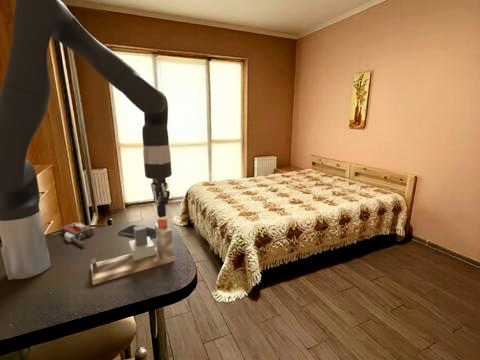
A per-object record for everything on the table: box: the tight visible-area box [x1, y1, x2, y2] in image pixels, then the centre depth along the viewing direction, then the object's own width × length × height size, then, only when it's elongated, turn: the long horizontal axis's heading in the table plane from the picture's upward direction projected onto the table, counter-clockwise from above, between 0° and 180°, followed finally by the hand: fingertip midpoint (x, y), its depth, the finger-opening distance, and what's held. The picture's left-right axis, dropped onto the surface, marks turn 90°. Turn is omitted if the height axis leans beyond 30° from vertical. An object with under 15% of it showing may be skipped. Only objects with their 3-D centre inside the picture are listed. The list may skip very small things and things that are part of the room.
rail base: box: [90, 222, 175, 285], centre depth 76 cm, size 22×9×10 cm, turn 121°
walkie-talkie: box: [60, 221, 95, 246], centre depth 96 cm, size 9×4×20 cm
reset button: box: [157, 217, 169, 228], centre depth 79 cm, size 3×3×2 cm
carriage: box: [128, 224, 156, 260], centre depth 77 cm, size 6×7×8 cm
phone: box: [118, 224, 156, 240], centre depth 98 cm, size 8×1×15 cm
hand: (161, 216), depth 79 cm, fingers closed
